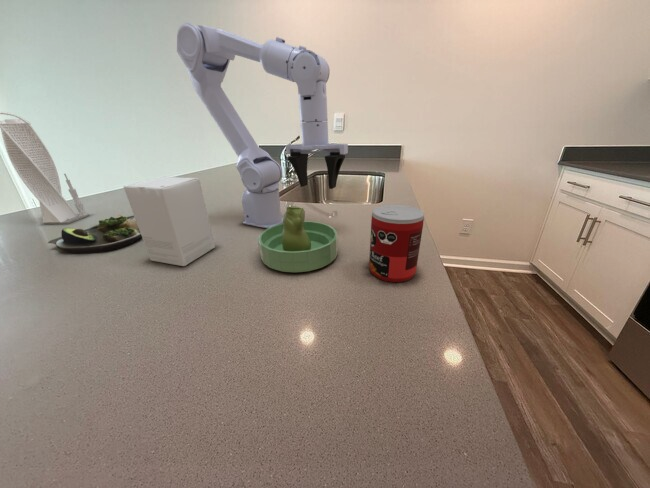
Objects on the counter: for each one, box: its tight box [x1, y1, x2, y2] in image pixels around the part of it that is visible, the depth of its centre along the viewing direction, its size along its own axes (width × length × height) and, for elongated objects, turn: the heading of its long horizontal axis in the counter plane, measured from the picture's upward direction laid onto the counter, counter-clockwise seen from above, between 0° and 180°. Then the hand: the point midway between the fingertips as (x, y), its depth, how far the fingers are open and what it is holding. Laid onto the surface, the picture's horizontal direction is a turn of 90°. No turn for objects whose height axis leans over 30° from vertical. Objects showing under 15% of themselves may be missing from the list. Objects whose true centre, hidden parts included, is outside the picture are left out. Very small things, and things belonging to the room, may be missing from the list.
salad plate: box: [47, 214, 142, 254], centre depth 62 cm, size 19×18×5 cm
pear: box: [282, 205, 311, 251], centre depth 47 cm, size 6×5×10 cm
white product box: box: [123, 176, 216, 267], centre depth 50 cm, size 9×9×15 cm
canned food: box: [368, 204, 425, 283], centre depth 43 cm, size 8×8×11 cm
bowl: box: [258, 220, 339, 273], centre depth 51 cm, size 15×15×4 cm
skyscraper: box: [0, 111, 90, 225], centre depth 68 cm, size 8×8×28 cm
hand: (317, 186), depth 60 cm, fingers open, 7 cm apart
